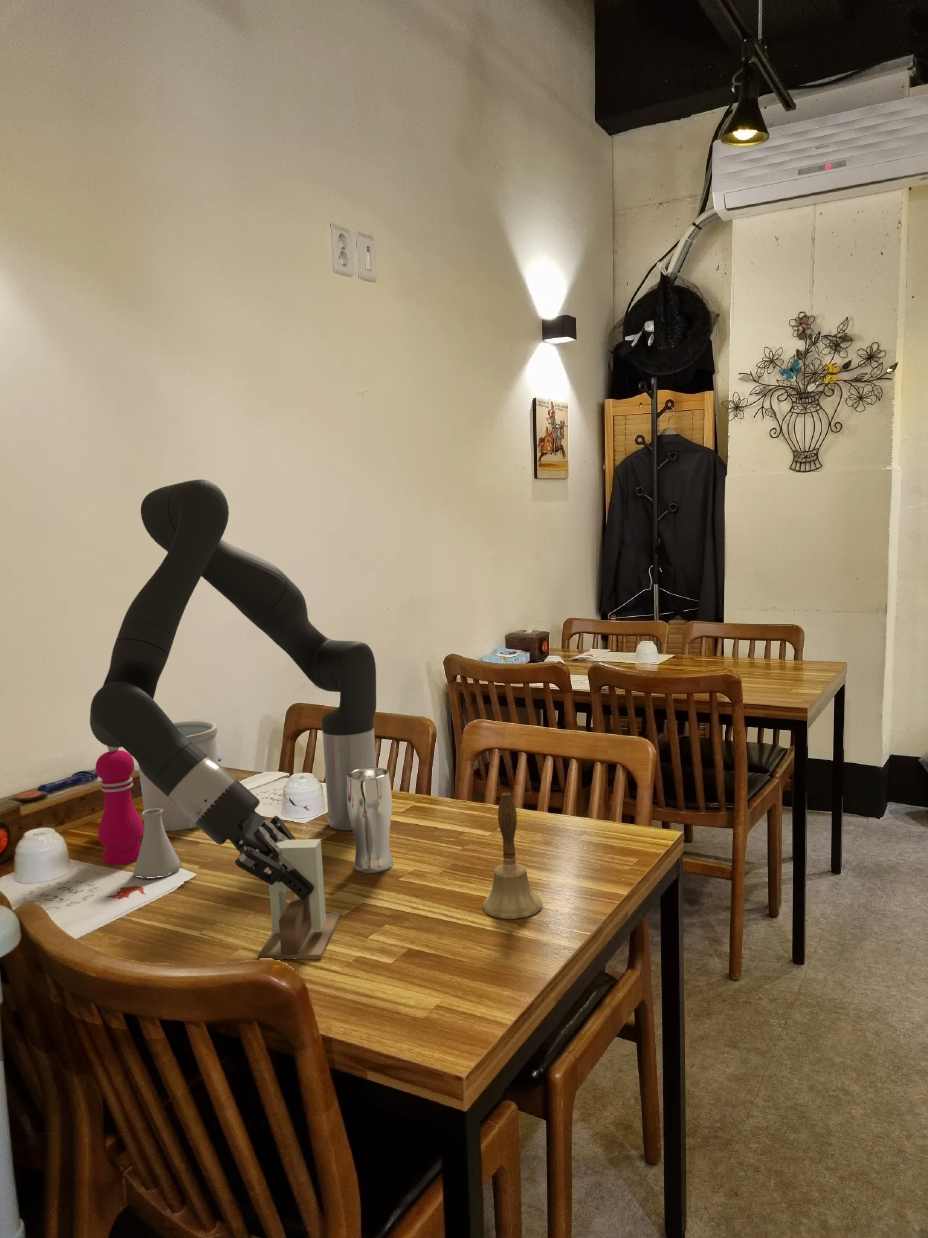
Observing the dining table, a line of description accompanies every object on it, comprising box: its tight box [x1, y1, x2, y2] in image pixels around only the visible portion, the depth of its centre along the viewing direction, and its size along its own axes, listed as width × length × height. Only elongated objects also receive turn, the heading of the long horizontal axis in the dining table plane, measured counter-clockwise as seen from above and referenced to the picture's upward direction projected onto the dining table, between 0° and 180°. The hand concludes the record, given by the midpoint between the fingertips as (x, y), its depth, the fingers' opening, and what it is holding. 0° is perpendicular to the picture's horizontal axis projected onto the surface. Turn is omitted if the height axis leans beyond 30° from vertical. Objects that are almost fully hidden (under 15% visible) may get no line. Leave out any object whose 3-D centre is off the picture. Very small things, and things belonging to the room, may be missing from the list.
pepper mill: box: [95, 746, 144, 866], centre depth 149 cm, size 7×7×20 cm
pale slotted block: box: [267, 838, 327, 932], centre depth 116 cm, size 6×3×11 cm, turn 86°
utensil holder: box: [137, 719, 219, 832], centre depth 168 cm, size 15×15×18 cm
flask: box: [132, 808, 182, 879], centre depth 143 cm, size 7×7×10 cm
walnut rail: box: [257, 893, 342, 961], centre depth 117 cm, size 12×8×5 cm, turn 176°
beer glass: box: [347, 767, 394, 874], centre depth 140 cm, size 7×7×15 cm
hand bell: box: [481, 792, 543, 920], centre depth 123 cm, size 8×8×16 cm
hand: (312, 888), depth 116 cm, fingers closed on pale slotted block, 3 cm apart
